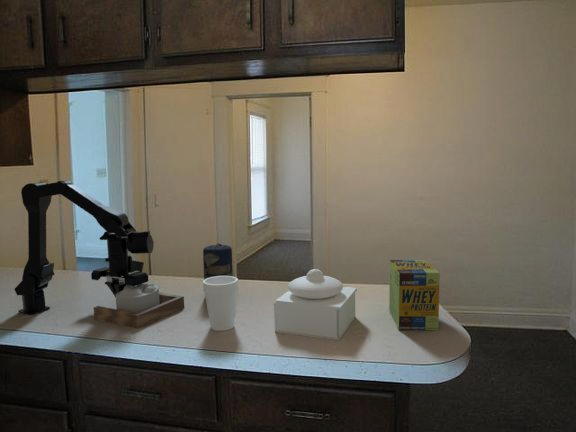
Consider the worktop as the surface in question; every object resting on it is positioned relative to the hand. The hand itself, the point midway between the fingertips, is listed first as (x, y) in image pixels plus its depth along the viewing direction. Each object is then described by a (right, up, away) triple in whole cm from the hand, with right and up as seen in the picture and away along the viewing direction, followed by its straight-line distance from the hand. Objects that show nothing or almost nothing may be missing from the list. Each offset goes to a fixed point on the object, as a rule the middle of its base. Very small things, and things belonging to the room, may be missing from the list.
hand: (121, 303), depth 139 cm
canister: (+29, 0, +11) cm, 31 cm away
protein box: (+86, -2, -14) cm, 87 cm away
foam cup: (+34, -4, -16) cm, 37 cm away
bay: (+6, -2, -3) cm, 8 cm away
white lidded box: (+60, -3, -16) cm, 62 cm away
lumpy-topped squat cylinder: (+7, -3, -4) cm, 8 cm away
